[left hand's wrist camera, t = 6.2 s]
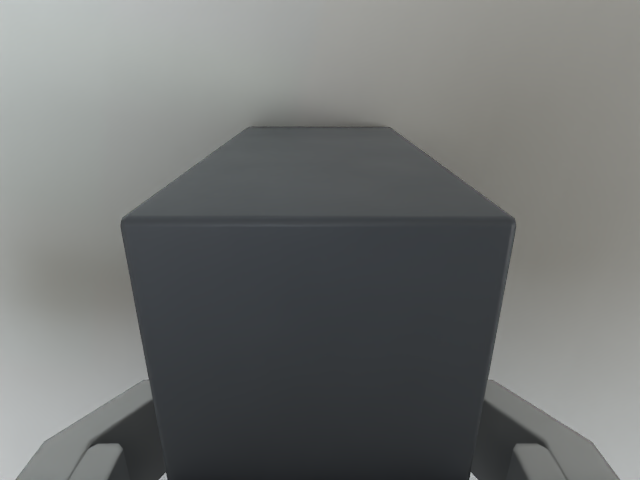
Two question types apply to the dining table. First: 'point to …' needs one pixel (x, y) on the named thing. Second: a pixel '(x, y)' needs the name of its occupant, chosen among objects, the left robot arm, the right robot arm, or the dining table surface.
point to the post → (318, 308)
